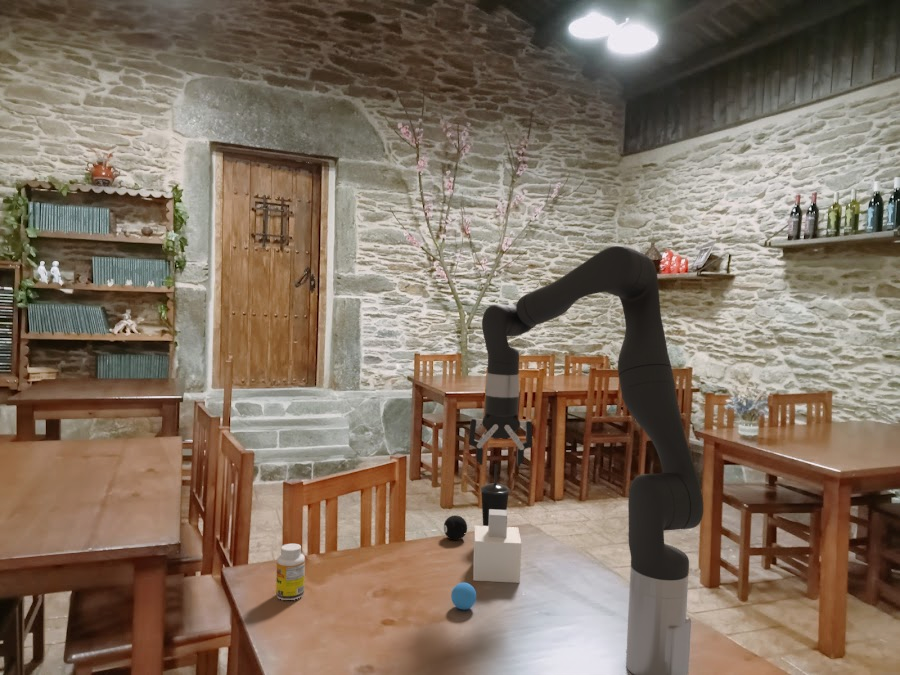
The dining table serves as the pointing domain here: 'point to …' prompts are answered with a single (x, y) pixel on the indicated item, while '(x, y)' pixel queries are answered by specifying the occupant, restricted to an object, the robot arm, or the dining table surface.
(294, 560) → the supplement bottle
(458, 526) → the billiard ball
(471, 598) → the blue ball
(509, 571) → the white block with stub
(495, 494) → the drinking cup
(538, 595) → the dining table surface
